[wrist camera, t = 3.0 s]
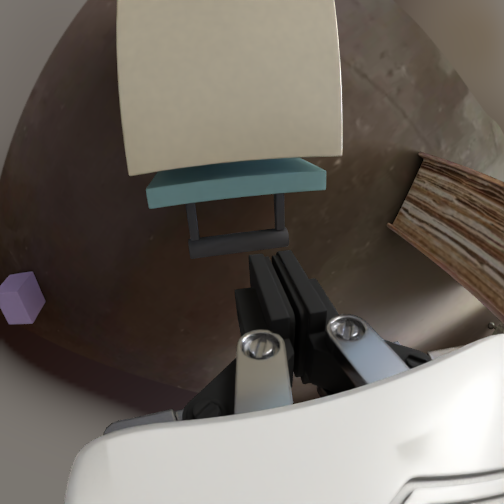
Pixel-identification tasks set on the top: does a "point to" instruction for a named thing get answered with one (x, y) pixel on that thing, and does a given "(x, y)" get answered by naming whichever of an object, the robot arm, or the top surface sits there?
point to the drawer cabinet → (227, 81)
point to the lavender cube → (21, 298)
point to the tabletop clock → (497, 328)
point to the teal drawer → (232, 186)
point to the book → (458, 226)
